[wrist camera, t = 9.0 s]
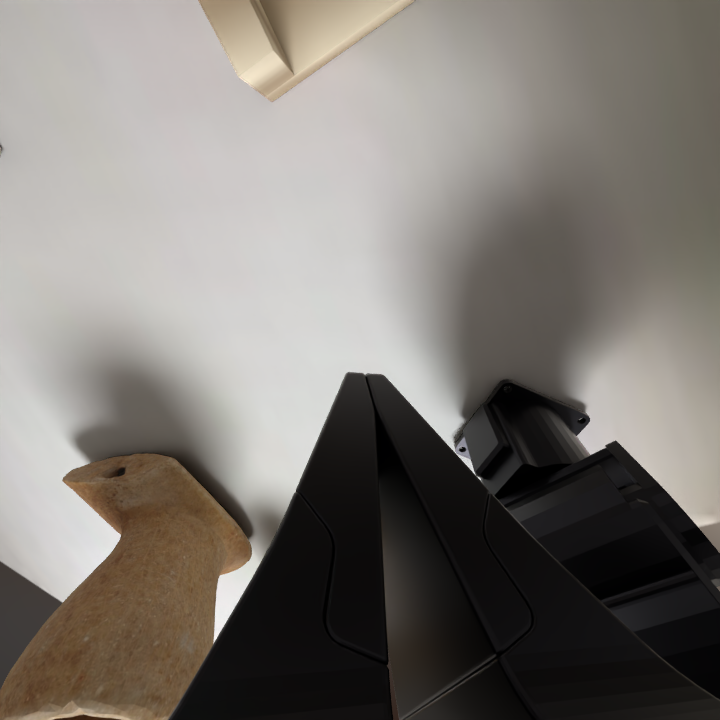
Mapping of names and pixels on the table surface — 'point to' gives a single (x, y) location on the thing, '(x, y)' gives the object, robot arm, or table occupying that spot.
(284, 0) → the chute
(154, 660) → the tan hollow piece
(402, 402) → the robot arm
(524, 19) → the table surface
